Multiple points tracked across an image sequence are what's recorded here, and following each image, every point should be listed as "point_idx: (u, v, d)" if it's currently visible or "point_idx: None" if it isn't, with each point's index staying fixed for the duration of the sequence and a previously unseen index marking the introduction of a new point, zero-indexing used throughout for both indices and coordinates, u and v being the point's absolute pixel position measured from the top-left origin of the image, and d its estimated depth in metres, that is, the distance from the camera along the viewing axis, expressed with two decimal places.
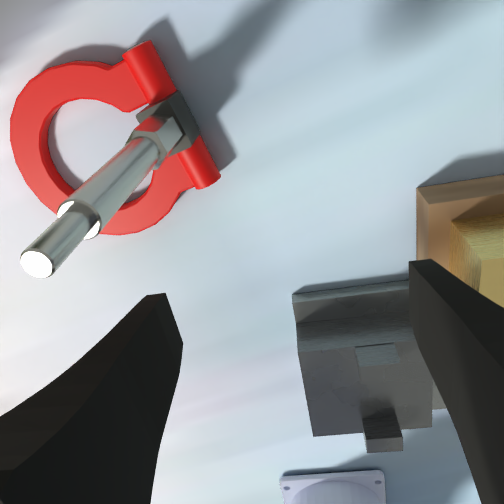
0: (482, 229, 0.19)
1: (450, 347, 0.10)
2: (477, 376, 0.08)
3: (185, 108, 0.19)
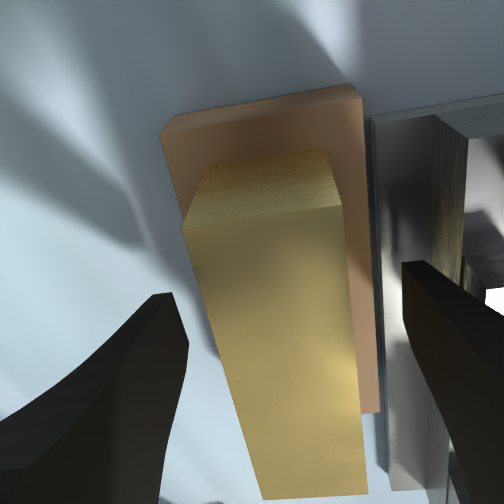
0: None
1: (440, 348, 0.10)
2: (466, 377, 0.08)
3: None
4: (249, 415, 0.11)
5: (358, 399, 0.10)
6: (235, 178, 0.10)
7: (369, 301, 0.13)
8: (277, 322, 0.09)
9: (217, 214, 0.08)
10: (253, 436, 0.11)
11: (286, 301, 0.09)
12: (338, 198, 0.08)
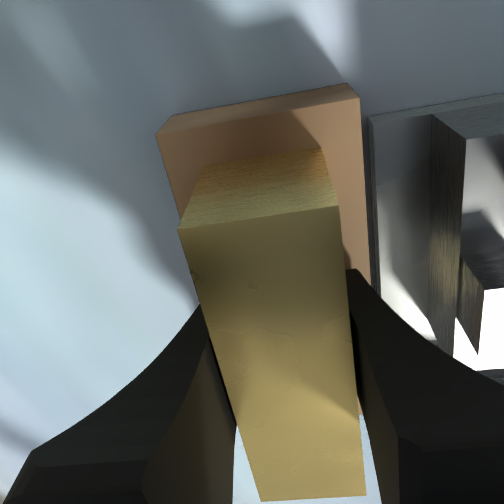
0: None
1: (357, 357, 0.10)
2: (369, 386, 0.09)
3: None
4: (247, 417, 0.11)
5: (356, 400, 0.10)
6: (232, 178, 0.10)
7: None
8: (274, 323, 0.09)
9: (213, 215, 0.08)
10: (251, 437, 0.11)
11: (283, 302, 0.09)
12: (335, 199, 0.08)
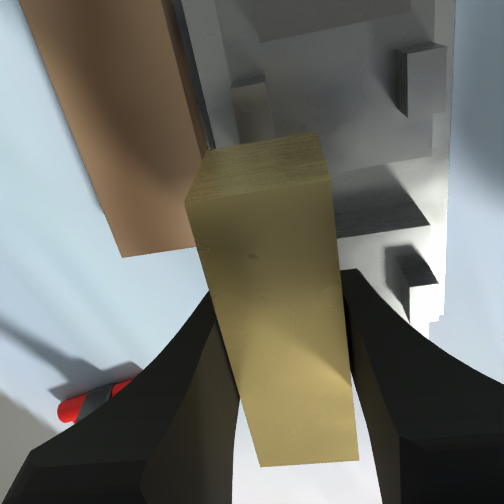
0: None
1: (358, 357, 0.10)
2: (370, 386, 0.09)
3: (92, 397, 0.27)
4: (247, 383, 0.11)
5: (348, 366, 0.11)
6: (233, 160, 0.11)
7: (192, 137, 0.18)
8: (272, 292, 0.10)
9: (216, 190, 0.09)
10: (251, 403, 0.12)
11: (281, 271, 0.10)
12: (327, 174, 0.09)
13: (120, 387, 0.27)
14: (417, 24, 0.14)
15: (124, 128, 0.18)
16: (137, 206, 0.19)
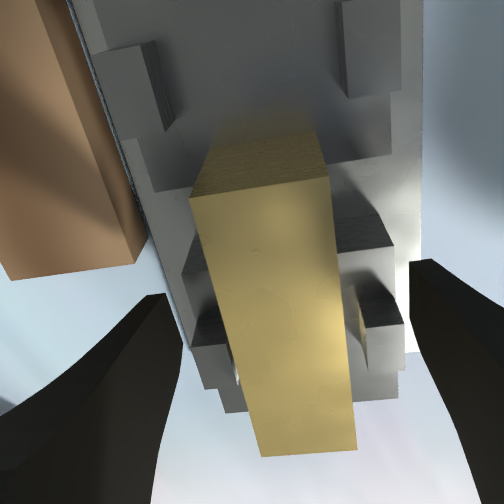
0: None
1: (450, 347, 0.10)
2: (477, 376, 0.08)
3: None
4: (249, 374, 0.12)
5: (346, 357, 0.11)
6: (235, 158, 0.11)
7: (79, 128, 0.13)
8: (273, 284, 0.10)
9: (220, 186, 0.10)
10: (252, 394, 0.12)
11: (281, 264, 0.10)
12: (326, 171, 0.09)
13: None
14: None
15: None
16: (20, 216, 0.15)
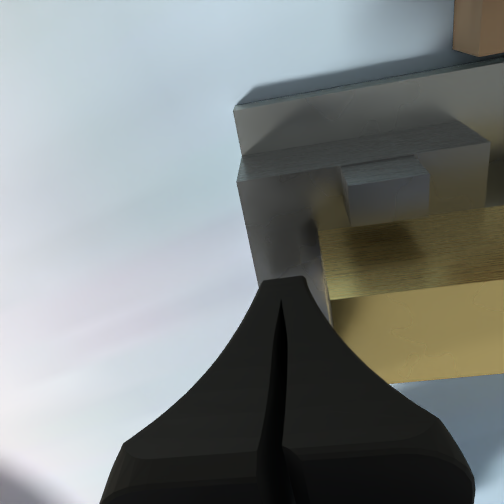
0: (354, 245, 0.12)
1: None
2: None
3: None
4: (492, 291, 0.10)
5: None
6: None
7: None
8: None
9: None
10: (456, 293, 0.10)
11: None
12: None
13: None
14: None
15: None
16: None
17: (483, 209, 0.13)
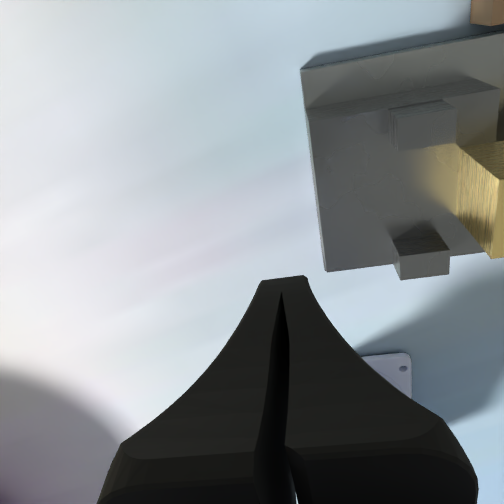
0: (498, 152, 0.16)
1: None
2: None
3: None
4: None
5: None
6: None
7: None
8: None
9: None
10: None
11: None
12: None
13: None
14: None
15: None
16: None
17: None
